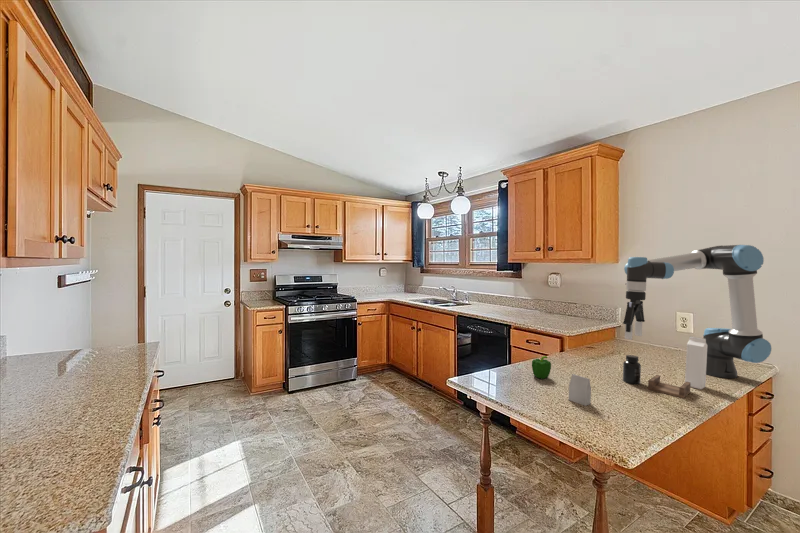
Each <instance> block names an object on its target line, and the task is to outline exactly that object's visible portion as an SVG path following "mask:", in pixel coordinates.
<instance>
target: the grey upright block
mask: <svg viewBox="0 0 800 533" xmlns="http://www.w3.org/2000/svg"><path fill="white" fill-rule="evenodd" d="M591 398H592V385H591V381H590V378H588V377H586V376H585V377H584V376H581V375H577V374H574V373H572V374H571V377H570V380H569V384H568V401H571V402H574V403H575V404H578V405H582V406H584V407H587V406H588V405H591V401H592V399H591Z"/></svg>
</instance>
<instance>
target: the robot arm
mask: <svg viewBox="0 0 800 533" xmlns="http://www.w3.org/2000/svg"><path fill="white" fill-rule="evenodd" d="M763 255H764V254H763V253H762V251H761V250H760V249H759V248H757V247H756V246H754V245H751V244H732V245H731V244H730V245H715V246H711V247H710V246H709V247H705V248H700V249H695V250H693V251H691V252H690V253H683V254H679V255H678V254H677V255H671V256H665V257H658V258H657V257H656V258H652V259H648V257H646V256H630V257H628V259H627V262H626V264H625V265H624V269H623V270H624V273H625V274H626V282H625V285H626V288H625V289H626V291H625V298H626V299H627V300H629V301H627V302H626V304H627V305H626V309H625V315H624V318H623V322H622V323H623V325H624V340H625V339H626V340H630V341H632V340H633V333H634V336H637V337H642V336H643V323H645V322H646V320H645V315H644V301H645V300H646V295H647V293H646V291H647V280H648V279H659V280H660V279H661V280H664V279H666V280H667V279H670V278H672V277H673V276H674V273H675V272H678V271H685V270H691V269H695V270H705V269H707V270H708V269H709V270H722V275H723V276H724V277H726V278H727V285H728V296H729V297H728V298H729V307H730V316H731V327H732V328H725V327H724V328H723V327H721V328H720V327H707V328H705V329H704V330H703V331H704V332H703V338H704V339H706V344H707V364H706V376H707V375H708V376H713V377H717V378H724V379H737V378H738V370H737V367H736V365H735V362H734V359H738V360H741V361H744V362H747V363H748V362H750V363H753V364H758V363H763V362H764V361H766V360H767V359H768V358H769V357H770V355H771V352H772V345H771V343H770V342H769V340H768V339H765V338H764V336H763V331H761V330H760V329H758V321H757V320H758V318H757V309H756V298H755V287H754V277H755V276H756V275H757V274H758V270H760V269H761V268H762V265H763V264H764V261H765V260H764V259H765V258H764V256H763ZM634 319H635V320H636V321H635V322H634ZM633 322H634V324H633ZM633 329H634V330H633ZM633 331H634V332H633Z"/></svg>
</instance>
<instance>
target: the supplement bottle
mask: <svg viewBox="0 0 800 533" xmlns="http://www.w3.org/2000/svg"><path fill="white" fill-rule="evenodd" d="M641 372H642V366H641V363H640V362H639V356H637V355H632V354H626V356H625V360H624V361H623V365H622V381H623V382H624V383H626V384H629V385H630V384H631V385H640V384H641V380H642V379H641V378H642V377H641Z"/></svg>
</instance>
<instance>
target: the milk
mask: <svg viewBox="0 0 800 533" xmlns="http://www.w3.org/2000/svg"><path fill="white" fill-rule="evenodd" d="M685 356H686V357H685V376H684V383H685V382H690V383H691V385H690V388H694V389H698V390H703V389H704V388H706V382H707V381H706V380H707V379H706V378H707V374H706V364H707V344H706V339H704V338H702V337H696V336H689V338H688V341H687V342H686V355H685Z"/></svg>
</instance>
